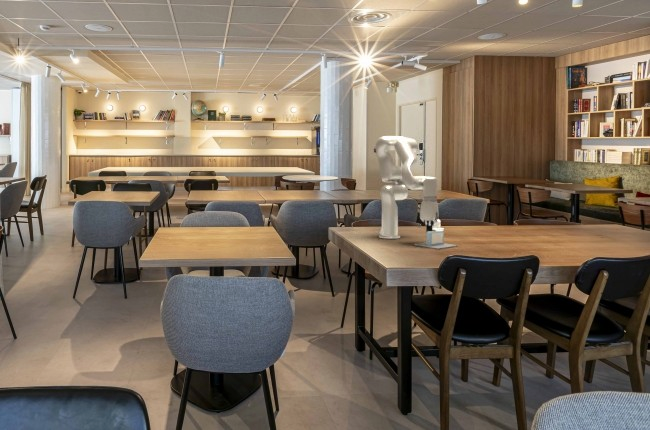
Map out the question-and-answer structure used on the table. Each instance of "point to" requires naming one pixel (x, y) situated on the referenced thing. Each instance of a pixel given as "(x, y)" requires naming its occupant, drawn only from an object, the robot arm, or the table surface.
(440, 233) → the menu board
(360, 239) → the table surface
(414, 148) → the robot arm
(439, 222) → the medicine bottle
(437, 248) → the mat
